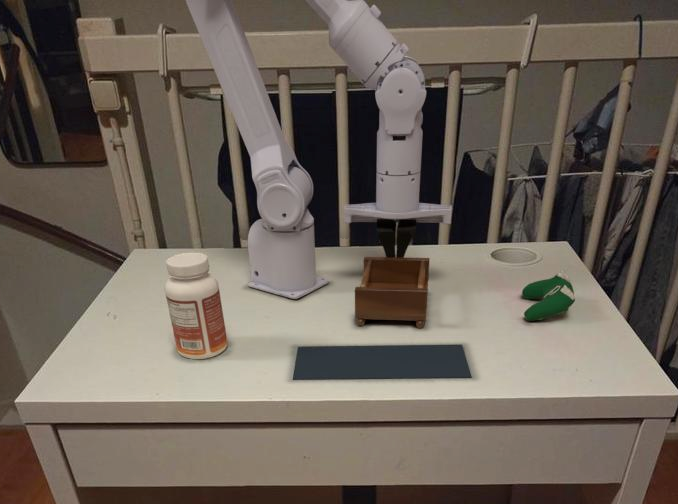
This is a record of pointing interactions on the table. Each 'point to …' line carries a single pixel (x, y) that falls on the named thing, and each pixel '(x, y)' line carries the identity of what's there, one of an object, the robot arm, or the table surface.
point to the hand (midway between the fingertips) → (394, 274)
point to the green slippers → (549, 297)
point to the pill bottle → (195, 306)
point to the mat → (381, 362)
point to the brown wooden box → (393, 290)
